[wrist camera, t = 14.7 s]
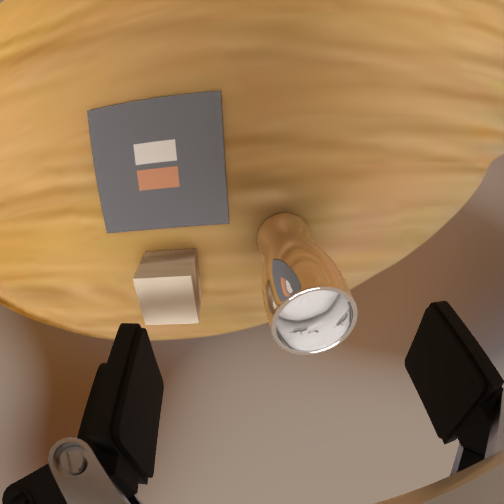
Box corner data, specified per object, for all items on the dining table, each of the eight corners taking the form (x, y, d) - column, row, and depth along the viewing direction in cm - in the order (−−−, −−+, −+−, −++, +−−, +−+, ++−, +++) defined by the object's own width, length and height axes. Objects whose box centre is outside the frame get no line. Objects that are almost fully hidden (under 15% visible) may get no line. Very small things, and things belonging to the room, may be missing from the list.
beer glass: (319, 253, 37) (364, 339, 24) (263, 272, 37) (282, 367, 24) (305, 200, 34) (353, 270, 20) (244, 220, 34) (255, 303, 21)
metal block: (145, 251, 35) (132, 278, 30) (196, 247, 35) (190, 275, 30) (155, 294, 38) (145, 324, 33) (202, 291, 38) (198, 323, 33)
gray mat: (89, 110, 27) (87, 110, 27) (220, 90, 28) (220, 90, 27) (108, 231, 34) (107, 233, 33) (228, 221, 34) (228, 223, 34)
